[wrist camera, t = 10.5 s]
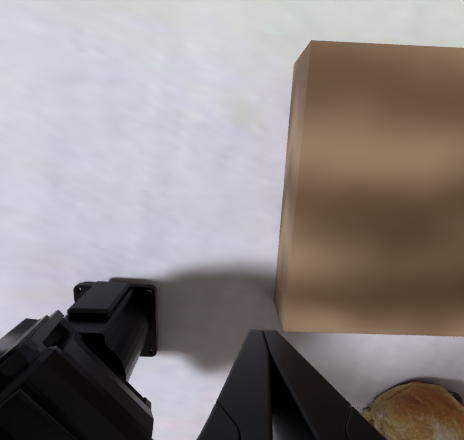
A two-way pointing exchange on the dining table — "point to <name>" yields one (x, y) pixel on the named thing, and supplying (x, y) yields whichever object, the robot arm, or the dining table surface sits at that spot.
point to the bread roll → (417, 413)
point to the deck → (374, 192)
